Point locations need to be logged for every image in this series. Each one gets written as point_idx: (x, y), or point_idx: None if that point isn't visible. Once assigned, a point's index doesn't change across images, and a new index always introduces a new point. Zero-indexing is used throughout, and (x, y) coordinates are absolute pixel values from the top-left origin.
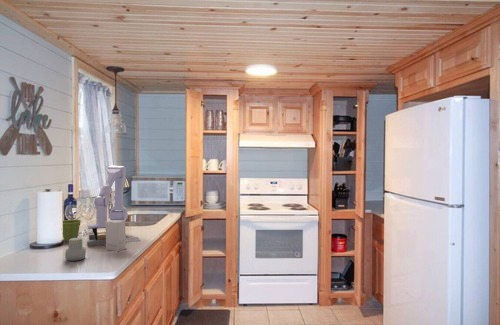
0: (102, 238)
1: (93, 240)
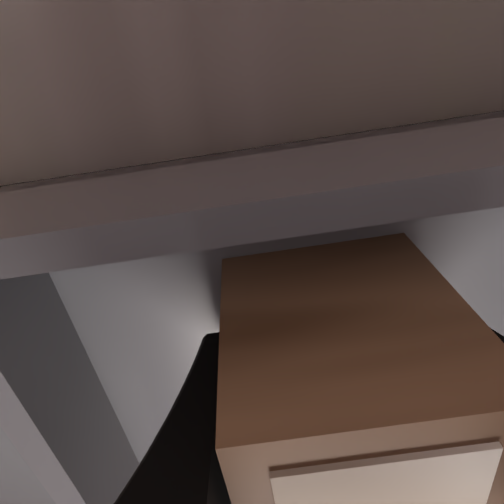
0: (323, 334)
1: None
